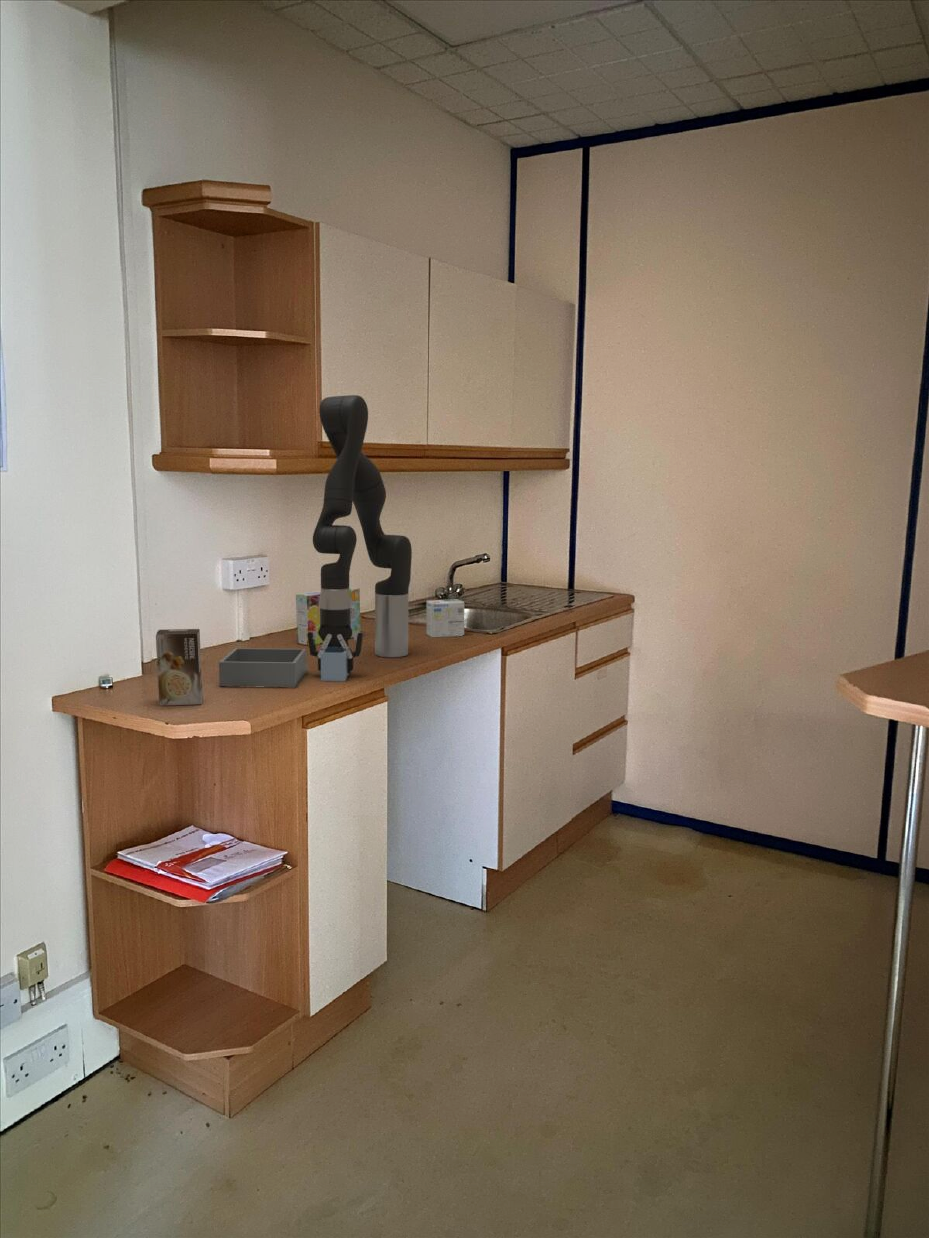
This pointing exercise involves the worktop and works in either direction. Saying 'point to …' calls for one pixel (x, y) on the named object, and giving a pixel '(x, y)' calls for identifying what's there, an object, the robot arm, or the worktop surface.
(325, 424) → the robot arm
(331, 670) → the blue open bin
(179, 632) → the coffee box
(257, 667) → the charcoal crate
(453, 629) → the light bulb box
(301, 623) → the snack box
